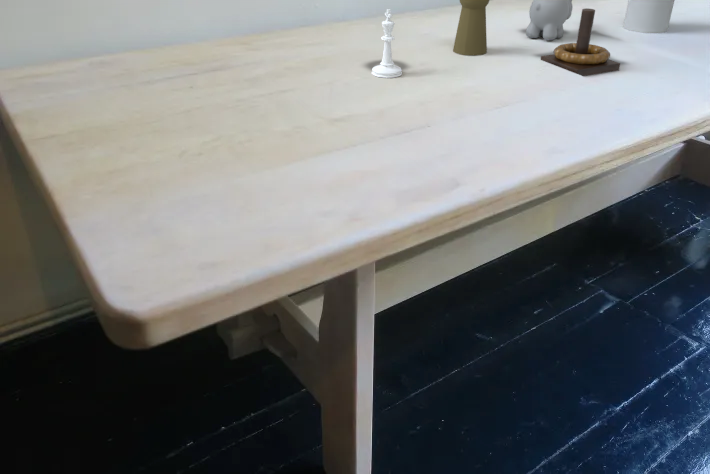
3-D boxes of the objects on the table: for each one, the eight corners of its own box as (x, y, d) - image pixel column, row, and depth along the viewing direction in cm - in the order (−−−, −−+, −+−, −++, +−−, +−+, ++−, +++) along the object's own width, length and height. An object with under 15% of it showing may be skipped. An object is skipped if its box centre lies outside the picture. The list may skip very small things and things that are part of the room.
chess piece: (379, 79, 104) (381, 13, 99) (366, 71, 108) (367, 7, 103) (407, 75, 106) (410, 11, 101) (393, 67, 110) (395, 5, 105)
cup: (669, 33, 131) (685, -32, 125) (661, 41, 125) (677, -26, 119) (627, 27, 135) (640, -36, 129) (617, 36, 129) (630, -30, 123)
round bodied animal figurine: (583, 33, 131) (591, -12, 127) (551, 44, 124) (559, -4, 119) (551, 27, 135) (557, -17, 131) (518, 37, 128) (524, -9, 124)
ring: (620, 61, 109) (622, 52, 108) (579, 68, 106) (580, 58, 105) (582, 49, 116) (583, 40, 115) (542, 55, 113) (544, 45, 112)
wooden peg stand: (619, 70, 109) (630, 12, 104) (576, 77, 106) (586, 17, 101) (581, 57, 116) (590, 2, 111) (539, 63, 113) (548, 6, 108)
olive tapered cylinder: (466, 45, 123) (472, -18, 117) (493, 51, 119) (500, -14, 114) (446, 50, 119) (450, -14, 114) (473, 57, 116) (479, -9, 110)
